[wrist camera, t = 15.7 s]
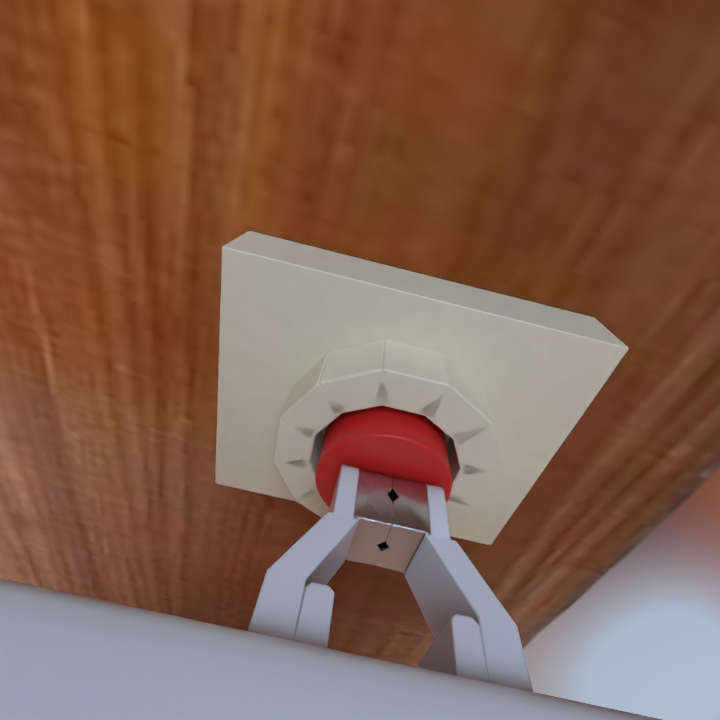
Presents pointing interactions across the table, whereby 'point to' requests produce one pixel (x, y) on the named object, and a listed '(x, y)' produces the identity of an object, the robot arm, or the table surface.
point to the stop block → (394, 373)
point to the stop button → (384, 448)
